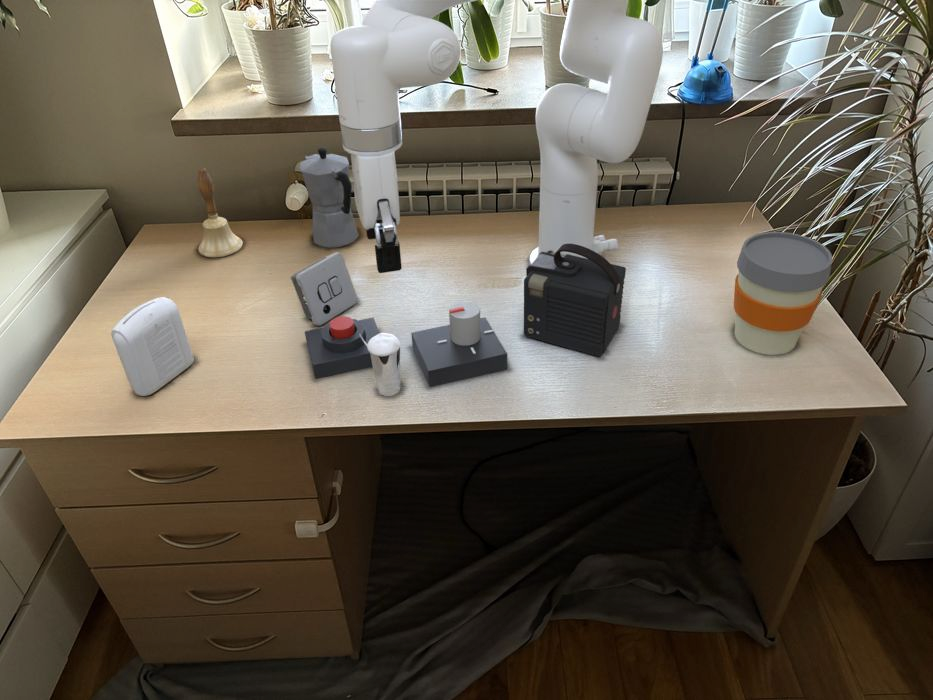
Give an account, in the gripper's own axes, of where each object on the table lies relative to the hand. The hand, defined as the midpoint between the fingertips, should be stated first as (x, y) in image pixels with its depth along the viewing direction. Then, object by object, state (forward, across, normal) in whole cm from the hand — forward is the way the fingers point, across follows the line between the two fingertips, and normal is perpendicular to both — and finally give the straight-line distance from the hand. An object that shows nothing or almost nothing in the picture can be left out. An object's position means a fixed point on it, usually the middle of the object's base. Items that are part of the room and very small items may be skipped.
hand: (383, 253), depth 104 cm
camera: (+18, +2, +28) cm, 33 cm away
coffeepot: (+18, -40, -4) cm, 44 cm away
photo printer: (+18, -5, -34) cm, 39 cm away
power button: (+14, -2, -7) cm, 16 cm away
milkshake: (+18, +8, -2) cm, 20 cm away
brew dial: (+15, +3, +11) cm, 18 cm away
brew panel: (+18, +4, +9) cm, 20 cm away
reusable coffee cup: (+17, +12, +56) cm, 60 cm away
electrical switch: (+18, -15, -9) cm, 25 cm away
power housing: (+18, -2, -7) cm, 19 cm away
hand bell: (+18, -44, -26) cm, 54 cm away
